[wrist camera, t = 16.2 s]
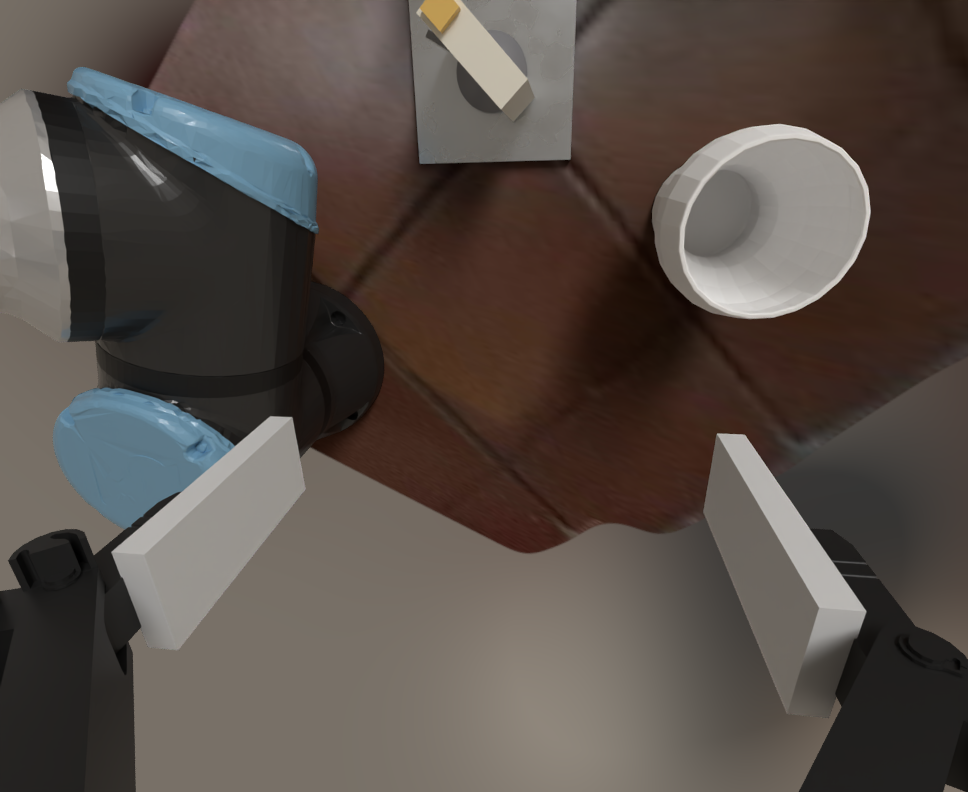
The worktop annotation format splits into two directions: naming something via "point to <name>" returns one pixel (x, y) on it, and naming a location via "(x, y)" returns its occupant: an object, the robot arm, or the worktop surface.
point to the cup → (761, 221)
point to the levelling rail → (494, 136)
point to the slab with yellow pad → (481, 58)
